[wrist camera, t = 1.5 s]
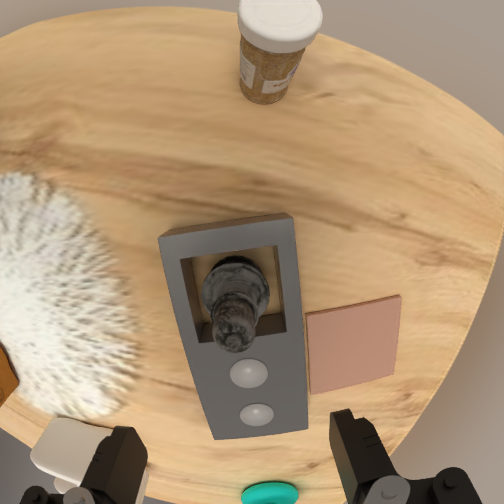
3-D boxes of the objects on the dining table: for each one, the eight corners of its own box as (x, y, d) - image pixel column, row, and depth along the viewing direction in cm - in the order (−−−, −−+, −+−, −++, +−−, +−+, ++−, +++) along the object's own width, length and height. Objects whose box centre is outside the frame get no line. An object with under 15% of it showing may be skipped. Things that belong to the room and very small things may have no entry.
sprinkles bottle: (282, 109, 25) (319, 49, 11) (234, 99, 24) (228, 30, 11) (291, 68, 24) (328, -9, 10) (244, 58, 23) (247, -26, 10)
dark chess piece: (256, 244, 27) (267, 290, 16) (273, 300, 29) (292, 372, 17) (197, 263, 28) (168, 319, 16) (217, 316, 29) (205, 393, 17)
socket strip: (169, 230, 27) (156, 238, 23) (285, 212, 27) (293, 218, 23) (216, 417, 32) (214, 441, 28) (302, 407, 32) (308, 429, 28)
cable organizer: (137, 431, 33) (117, 492, 22) (152, 468, 36) (139, 522, 24) (55, 411, 33) (25, 458, 21) (76, 450, 35) (55, 495, 24)
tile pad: (305, 313, 29) (306, 316, 29) (399, 294, 29) (401, 296, 29) (309, 391, 32) (310, 394, 31) (391, 371, 32) (393, 374, 31)
